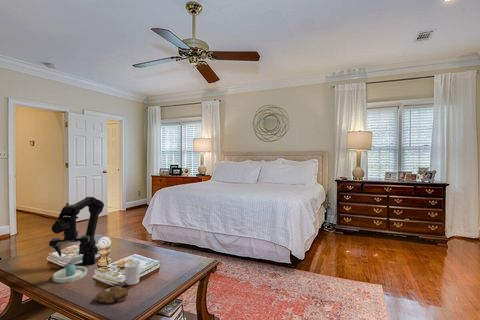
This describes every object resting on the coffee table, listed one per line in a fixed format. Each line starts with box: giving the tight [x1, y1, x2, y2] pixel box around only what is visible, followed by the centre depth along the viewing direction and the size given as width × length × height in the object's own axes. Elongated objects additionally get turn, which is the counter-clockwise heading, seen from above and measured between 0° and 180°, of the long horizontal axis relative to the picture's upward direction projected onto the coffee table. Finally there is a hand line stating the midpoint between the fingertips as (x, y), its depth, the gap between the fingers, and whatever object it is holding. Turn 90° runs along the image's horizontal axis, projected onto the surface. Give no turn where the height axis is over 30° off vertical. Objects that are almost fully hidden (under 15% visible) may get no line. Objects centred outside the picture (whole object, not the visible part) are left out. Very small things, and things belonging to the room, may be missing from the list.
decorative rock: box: [94, 286, 129, 304], centre depth 126 cm, size 11×4×15 cm
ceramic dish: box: [52, 265, 88, 284], centre depth 148 cm, size 16×16×2 cm
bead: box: [65, 263, 76, 277], centre depth 148 cm, size 4×4×5 cm
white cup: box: [124, 260, 141, 286], centre depth 141 cm, size 8×8×10 cm
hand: (70, 255), depth 147 cm, fingers open, 9 cm apart
